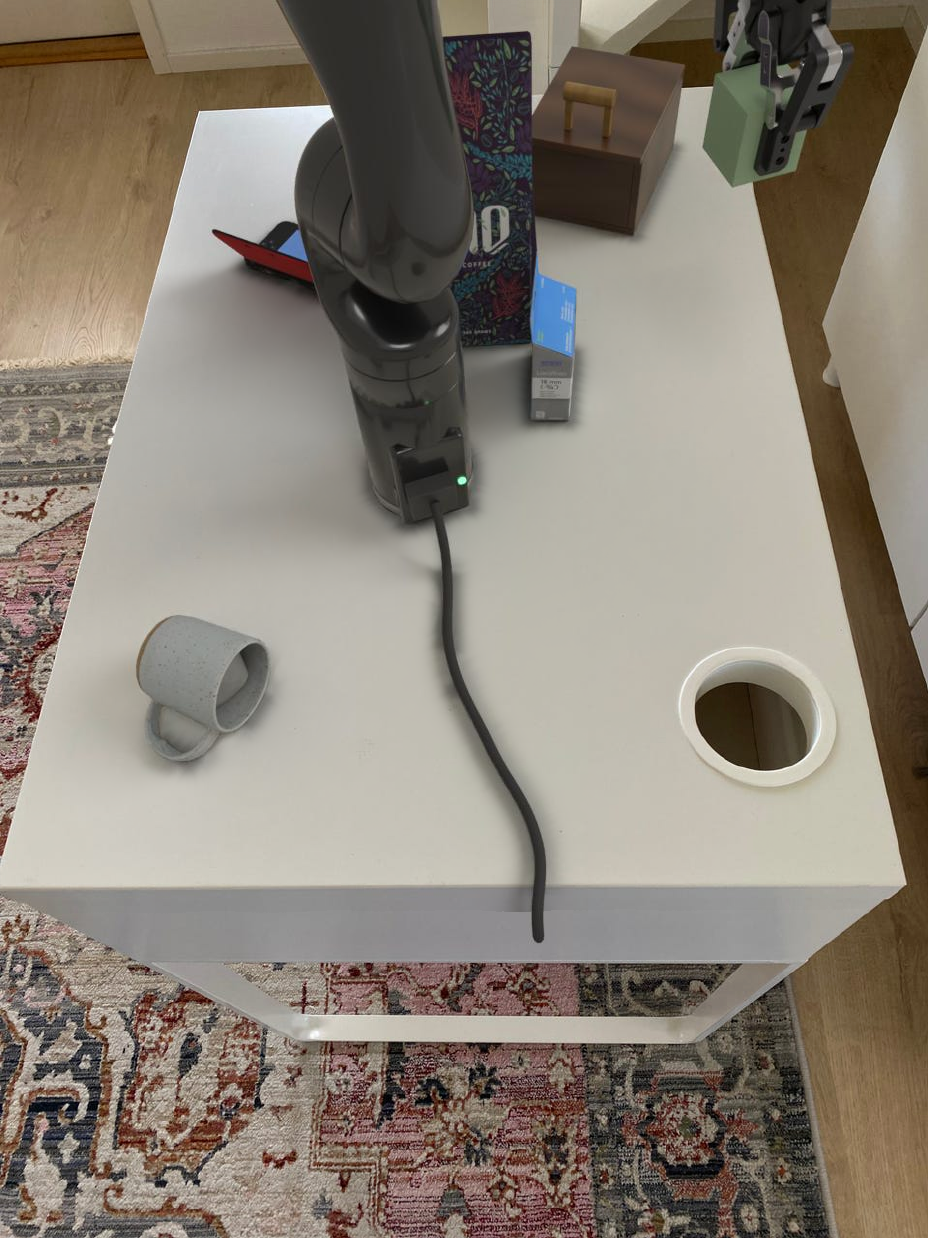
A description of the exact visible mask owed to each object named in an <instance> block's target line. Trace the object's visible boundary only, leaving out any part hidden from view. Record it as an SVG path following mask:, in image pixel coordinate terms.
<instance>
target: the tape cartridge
mask: <svg viewBox="0 0 928 1238" xmlns="http://www.w3.org/2000/svg"><path fill="white" fill-rule="evenodd" d="M530 330H531V339H532V341H531V346H532V347H531V348H532V349H531V351H532V352H531V396H530V397H531V399H530V411H529V412H530V415H529V416H530V417H529V419H530V421H536V422H541V421H542V422H568V421H570V418H571V417H570V416H571V407H572V406H571V405H572V395H573V381H574V369H575V352H576V350H575V349H576V333H577V332H576V330H577V288H576V287H573V286H571V285H569V284H566V283H563V282H561V281H559V280H556V279H554V278H551V277H548V276H545V275H544V274H541V273H540V272H539V252H538V251H537V252H536V260H535V270H534V279H533V289H532V299H531V310H530Z"/></svg>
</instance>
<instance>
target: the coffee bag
mask: <svg viewBox="0 0 928 1238" xmlns="http://www.w3.org/2000/svg"><path fill="white" fill-rule="evenodd" d="M443 43H444V51H445V58H446V65H447V71H448V77H449V83H450V87H451V92H452V97H453V102H454V107H455V111H456V116H457V120H458V125H459V129H460V134H461V139H462V143H463V148H464V152H465V157H466V161H467V166H468V170H469V175H470V180H471V185H472V191H473V199H474V226H473V234H472V239H471V243H470V247H469V251H468V254H467V256H466V259H465V261H464V264H463V266H462V268H461V270H460V271H459V273H458V275H457V276H456V278H455V279H454V281H453V282H452V283H451V284H450V285H449V286H450V287H451V289H452V291H453V293H454V295H455V297H456V300H457V303H458V307H459V312H460V322H461V336H462V347H470V346H471V347H473V346H475V347H476V346H493V345H513V344H530V343H532V339H531V330H530V310H531V299H532V289H533V279H534V270H535V260H536V252H538V244H537V243H538V242H537V241H538V240H537V226H536V216H535V211H534V196H533V181H532V114H533V66H532V65H533V41H532V34H531V31H528V30H524V31H522V30H521V31H508V32H506V31H505V32H492V33H476V34H462V35H461V34H459V35H446V36H443Z"/></svg>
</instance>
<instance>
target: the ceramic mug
mask: <svg viewBox="0 0 928 1238" xmlns="http://www.w3.org/2000/svg"><path fill="white" fill-rule="evenodd" d="M271 665H272V664H271V655H270V651H269V648H268V646H267V645H266V643H265V642H264V641H263V640H261V639H259V638H257V637H255V636H251V635H248V634H245V633H241V632H239V631H236V630H233V629H231V628H228V627H224V626H222V625H218V624H214V623H212V622H209V621H207V620H204V619H201V618H199V617H194V616H191V615H189V616H188V615H181V614H178V615H171V616H168V617H165V618H164V619H162V620H160V621H158V623H156V624H155V625H154V627H152V629H151V630H150V631H149V632H148V634H147V635H146V637H145V638H144V640H143V641H142V644H141V646H140V648H139V652H138V655H137V658H136V664H135V666H136V667H135V674H136V675H135V676H136V679H137V684H138V686H139V688H140V690H142V692H143V693H144V694H145V695H147V696H148V697H149V698H150V699H151V701H150V703H149V704H148V706H147V710H146V714H145V718H144V732H145V737H146V739H147V742H148V743H149V746H150V747H151V748H152V749H153V750H154V752H155V753H157V754H158V755H160V757H161V756H162V757H163V758H165V759H167V760H169V761H172V762H188V761H193V760H195V759H198V758H199V757H201V756H203V755H204V754H206V752H208V751H209V750H210V748H211V747H212V746H213V744H214V743H215V741H216V740H217V739H218V736H219V735H220V733H221V734H229V733H232V732H235V731H237V730H238V729H239V728H241V727H242V726H244V725H245V724H246V723H247V721H248V720H249V719H250V718H251V717H252V716H253V714H254V712H255V711H256V710H257V708H258V706H259V704H260V702H261V701H262V698H263V697H264V695H265V692H266V689H267V687H268V683H269V679H270V675H271V669H272V667H271ZM163 706H164V707H167V708H169V709H172V710H173V711H176V712H178V713H180V714H182V715H184V716H186V717H187V718H190V719H192V720H193V721H195V722H197V723H199V724H201V725H204V726H206V728H207V729H206V732H205V734H204V735H203V737H202V738H201V739H200V741H199V742H198V744H196V746H194V747H193V748H192V749H190V750H188V751H187V752H181V751H180V750H178V749H176V748H174V747H173V746H172V745H170V744H169V743H168V741H167V740H166V739H164V738H162V737H161V735H160V734H161V733H160V730H159V723H160V716H161V712H162V709H163Z"/></svg>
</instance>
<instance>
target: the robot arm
mask: <svg viewBox="0 0 928 1238" xmlns="http://www.w3.org/2000/svg"><path fill="white" fill-rule="evenodd" d="M275 1H276V3H277V6H278V7H279V10H280V12H281V14H282V15H283V17H284V19H285V21H286V22H287V25H288V26H289V28H290V30H291V32H292V34H293V35H294V38H295V39H296V42H297V43H298V44H299V47H300V48H301V51H302V52H303V54H304V56H305V57H306V60H307V62H308V63H309V65H310V67H311V69H312V71H313V73H314V75H315V77H316V79H317V82H318V83H319V85H320V87H321V89H322V91H323V94H324V96H325V98H326V100H327V103H328V105H329V107H330V110H331V112H332V117H330V118H329V119H328V120H326V121H325V122H324V123H323V124H321V125H320V126H319V127H318V128H317V129H316V130H315V132H314V133H313V134H312V136H311V137H310V139H308V141H307V143H306V144H305V146H304V148H303V150H302V153H301V155H300V157H299V160H298V164H297V169H296V172H295V179H294V189H293V191H294V192H293V196H294V197H293V198H294V201H293V202H294V210H295V218H296V222H297V223H296V224H298V227H299V232H300V236H301V239H302V243H303V247H304V250H305V253H306V257H307V260H308V264H309V267H310V271H311V274H312V277H313V281H314V284H315V287H316V291H315V292H316V295H317V297H318V300H319V303H320V306H321V308H322V310H323V313H324V315H325V316H326V319H327V321H328V322H329V324H330V326H331V327H332V328H333V331H334V332H335V334H336V336H337V337H338V340H339V345H340V348H341V351H342V356H343V360H344V365H345V369H346V373H347V378H348V383H349V387H350V391H351V396H352V401H353V405H354V409H355V413H356V419H357V423H358V426H359V431H360V435H361V439H362V444H363V448H364V453H365V458H366V462H367V465H368V469H369V477H370V483H371V487H372V491H373V493H374V496H375V497H376V499H377V500H378V502H379V503H380V504H381V505H382V506H384V508H386V509H387V510H389V511H390V512H392V513H394V514H396V515H399V516H400V517H401V519H402V522H403V523H404V524H405V525H409V524H412V523H415V522H419V521H422V520H425V519H429V518H432V519H433V524H434V528H435V533H436V538H437V542H438V547H439V554H440V561H441V562H440V563H441V574H442V617H441V618H442V619H441V628H442V629H441V631H442V643H443V650H444V654H445V659H446V663H447V667H448V671H449V673H450V677H451V679H452V682H453V685H454V687H455V690H456V692H457V695H458V697H459V699H460V701H461V703H462V705H463V707H464V708H465V711H466V713H467V714H468V716H469V718H470V721H471V722H472V724H473V726H474V728H475V730H476V732H477V734H478V737H479V738H480V741H481V743H482V744H483V747H484V749H485V751H486V753H487V755H488V757H489V759H490V761H491V763H492V764H493V766H494V768H495V769H496V771H497V773H498V775H499V776H500V778H501V780H502V781H503V783H504V785H505V786H506V788H507V789H508V792H509V793H510V795H511V797H512V798H513V799H514V801H515V803H516V806H517V807H518V808H519V811H520V814H521V815H522V817H523V820H524V822H525V825H526V828H527V831H528V833H529V838H530V841H531V846H532V850H533V857H534V858H533V859H534V873H533V874H534V876H533V885H532V886H533V887H532V899H531V916H530V917H531V934H532V935H531V936H532V938H533V941H534V942H535V943H536V944H542V943H543V942H544V940H545V923H544V908H545V894H546V885H547V884H546V883H547V857H546V849H545V844H544V840H543V836H542V833H541V829H540V826H539V824H538V821H537V818H536V816H535V813H534V811H533V809H532V806H531V805H530V803H529V801H528V799H527V797H526V795H525V794H524V792H523V790H522V789H521V787H520V786H519V784H518V782H517V781H516V779H515V778H514V775H513V774H512V773H511V770H510V769H509V767H508V766H507V764H506V762H505V761H504V759H503V757H502V755H501V753H500V752H499V749H498V747H497V745H496V743H495V741H494V739H493V737H492V735H491V733H490V731H489V729H488V727H487V725H486V723H485V721H484V719H483V718H482V716H481V713H480V712H479V710H478V708H477V706H476V704H475V702H474V700H473V698H472V696H471V694H470V692H469V690H468V687H467V685H466V682H465V680H464V677H463V674H462V672H461V667H460V666H459V662H458V658H457V653H456V648H455V643H454V635H453V604H454V603H453V602H454V588H453V587H454V584H453V583H454V580H453V579H454V578H453V567H452V566H453V565H452V556H451V549H450V544H449V539H448V532H447V528H446V524H445V520H444V516H443V514H445V513H448V512H451V511H455V510H458V509H462V508H464V507H467V506H469V505H470V494H469V493H470V491H471V488H472V487H473V483H474V478H475V477H474V475H475V472H474V471H475V470H474V463H473V457H472V448H471V440H470V438H471V437H470V427H469V425H470V424H469V415H468V404H467V403H468V401H467V388H466V377H465V365H464V363H465V362H464V350H463V349H464V348H463V346H462V336H461V322H460V312H459V307H458V303H457V300H456V297H455V295H454V293H453V291H452V289H451V287H450V286H449V285H450V284H451V283H452V282H453V281H454V279H455V278H456V276H457V275H458V273H459V271H460V270H461V268H462V266H463V264H464V261H465V259H466V256H467V254H468V251H469V247H470V243H471V239H472V234H473V226H474V199H473V191H472V185H471V180H470V175H469V170H468V166H467V161H466V157H465V152H464V148H463V143H462V139H461V134H460V129H459V125H458V120H457V116H456V111H455V107H454V102H453V97H452V92H451V87H450V83H449V77H448V71H447V65H446V58H445V51H444V43H443V37H444V34H443V26H442V19H441V10H440V9H441V8H440V2H439V0H275ZM714 3H715V5H714V6H715V7H714V19H713V21H714V22H713V35H712V36H713V38H712V47H713V50H714V53H716V54H722V55H723V60H722V72H725V71H729V70H733V69H737V68H741V67H745V66H749V65H753V64H757V63H761V66H760V86H761V87H762V88H763V89H765V90H766V113H765V123H763V128H762V132H761V136H760V141H759V145H758V149H757V154H756V158H755V162H754V167H753V168H754V170H755V172H756V173H757V174H758V175H759V176H764V175H768V174H772V173H776V172H779V171H781V170H782V169H783V168H785V167H786V165H787V164H788V161H789V157H790V156H789V155H790V153H791V149H792V146H793V142H794V138H795V134H796V132H800V131H804V130H807V131H808V130H814V129H818V128H821V127H822V125H823V124H824V122H825V119H826V117H827V115H828V113H829V111H830V109H831V107H832V104H833V102H834V100H835V98H836V96H837V94H838V93H839V90H840V88H841V86H842V84H843V82H844V80H845V77H846V76H847V73H848V71H849V70H850V67H851V65H852V63H853V62H854V61H853V60H854V57H855V50H854V46H853V44H852V43H851V42H845V43H840V44H837V42H836V40H835V38H834V37H833V34H832V33H831V31H830V29H829V28H830V26H831V23H832V17H833V14H832V13H833V12H832V11H833V8H832V7H833V0H715V2H714ZM734 13H736V15H735V17H734V20H733V21H732V24H731V27H730V29H729V23H730V16H731V15H732V14H734ZM799 61H800V62H799ZM796 62H799V64H798V66H796V67H795V68H791V70H787V71H783V72H779V73H777V66H782V65H786V64H788V65H790V64H793V63H796ZM789 87H793V92H792V94H791V96H790V99H789V101H788V103H787V105H783V106H782V93H783V91H784V90H785V89H786V88H789ZM810 106H811V107H810Z"/></svg>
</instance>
